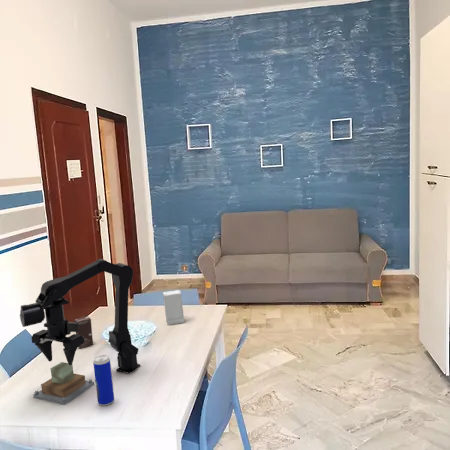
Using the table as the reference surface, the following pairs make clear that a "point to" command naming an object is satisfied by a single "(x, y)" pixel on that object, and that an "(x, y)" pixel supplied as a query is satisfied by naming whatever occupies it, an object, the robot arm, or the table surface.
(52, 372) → the block
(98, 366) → the beverage can
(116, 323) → the robot arm
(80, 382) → the base brick
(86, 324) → the box
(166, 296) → the skincare box
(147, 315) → the table surface
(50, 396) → the baseplate
